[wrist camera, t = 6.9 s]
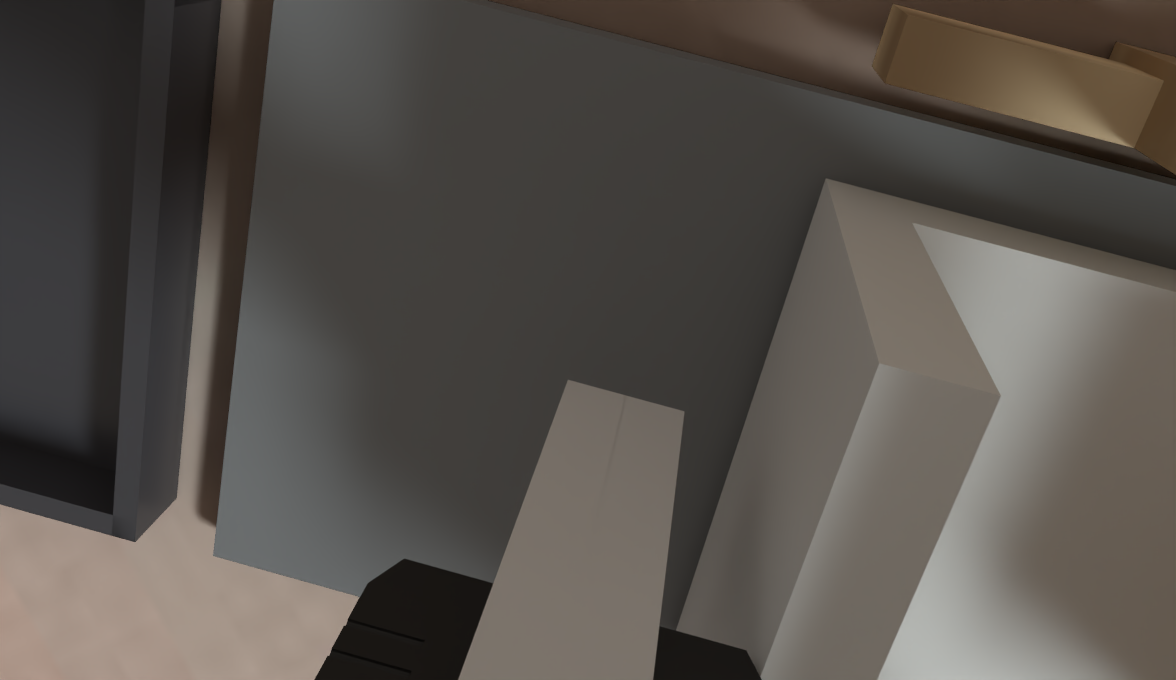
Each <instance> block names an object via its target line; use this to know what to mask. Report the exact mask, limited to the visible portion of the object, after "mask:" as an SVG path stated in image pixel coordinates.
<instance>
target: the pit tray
mask: <svg viewBox="0 0 1176 680" xmlns="http://www.w3.org/2000/svg"><path fill="white" fill-rule="evenodd" d="M220 10H221V0H0V504H1V505H4V506H8V507H12V508H15V509H19V510H22V511H26V512H29V513H33V514H37V515H40V516H44V517H47V518H51V519H54V520H58V521H62V522H65V523H69V524H72V525H76V526H79V527H83V528H87V529H90V530H94V531H97V532H101V533H104V534H108V535H112V536H115V537H119V538H122V539H126V540H129V541H133V542H136V541H137V540H138V538H139V537H140V536H141V535H142V534H143V533H144V532H145V531H146V530H147V529H148V528H149V527H150V526H151V525H152V524H153V523H154V522H155V520H156V519H157V518H158V517H159V516H160V515H161V514H162V513H163V512H164V511H165V510H166V509H167V508H168V507H169V506H170V505H171V503H172V502H173V501H174V500H175V499H176V498H177V487H178V476H179V465H180V454H181V443H182V432H183V421H184V410H185V399H186V388H187V376H188V365H189V354H190V343H191V332H192V321H193V310H194V299H195V288H196V277H197V266H198V254H199V243H200V232H201V221H202V210H203V199H204V188H205V177H206V166H207V155H208V143H209V132H210V121H211V110H212V99H213V88H214V77H215V66H216V55H217V44H218V32H219V21H220Z"/></svg>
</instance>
